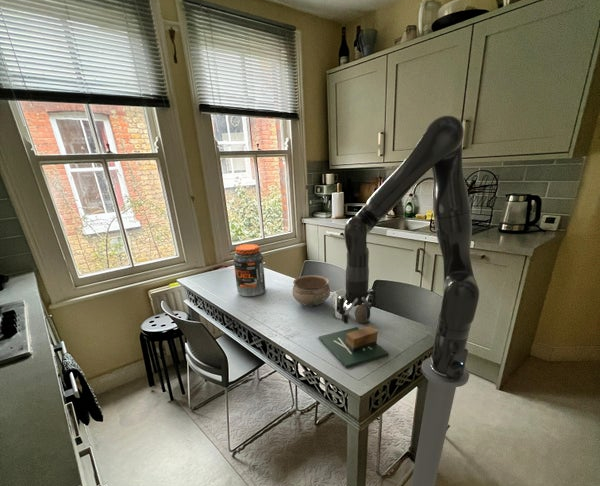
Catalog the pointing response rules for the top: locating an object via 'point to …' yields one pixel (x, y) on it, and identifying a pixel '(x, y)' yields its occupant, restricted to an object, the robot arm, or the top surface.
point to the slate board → (346, 355)
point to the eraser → (361, 338)
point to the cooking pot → (311, 290)
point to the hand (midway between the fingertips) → (356, 320)
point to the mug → (336, 293)
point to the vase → (360, 314)
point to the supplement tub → (249, 270)
